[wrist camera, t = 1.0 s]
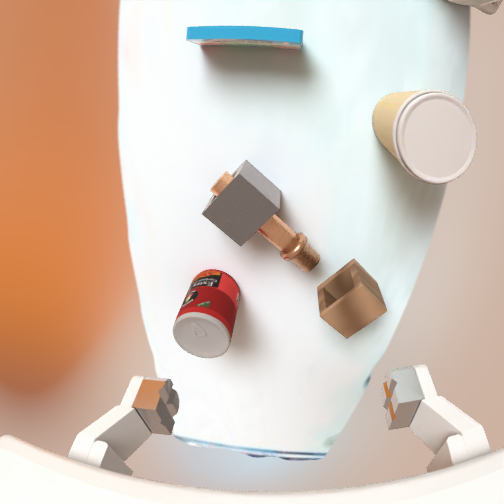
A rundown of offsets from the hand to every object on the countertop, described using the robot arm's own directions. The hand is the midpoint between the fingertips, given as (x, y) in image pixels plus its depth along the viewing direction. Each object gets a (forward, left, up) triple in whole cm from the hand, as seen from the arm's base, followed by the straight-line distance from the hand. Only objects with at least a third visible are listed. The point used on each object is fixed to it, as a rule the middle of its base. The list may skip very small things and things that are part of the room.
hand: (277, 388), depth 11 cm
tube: (+6, +3, -31) cm, 32 cm away
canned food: (+21, +6, -33) cm, 40 cm away
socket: (+6, +20, -33) cm, 39 cm away
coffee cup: (-15, +6, -33) cm, 36 cm away
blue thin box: (-9, -14, -33) cm, 37 cm away
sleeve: (+6, -1, -33) cm, 33 cm away
